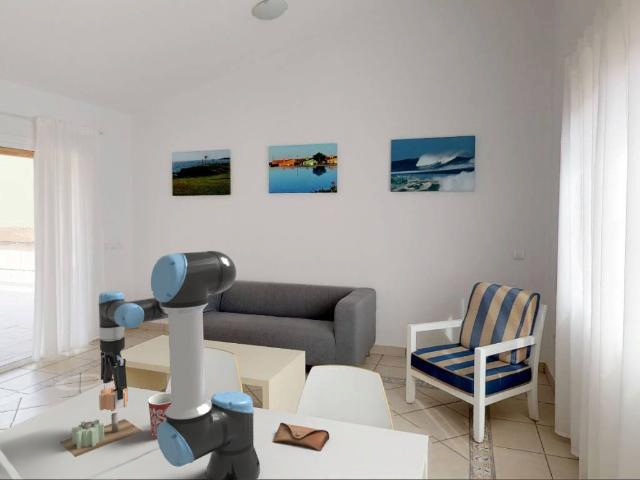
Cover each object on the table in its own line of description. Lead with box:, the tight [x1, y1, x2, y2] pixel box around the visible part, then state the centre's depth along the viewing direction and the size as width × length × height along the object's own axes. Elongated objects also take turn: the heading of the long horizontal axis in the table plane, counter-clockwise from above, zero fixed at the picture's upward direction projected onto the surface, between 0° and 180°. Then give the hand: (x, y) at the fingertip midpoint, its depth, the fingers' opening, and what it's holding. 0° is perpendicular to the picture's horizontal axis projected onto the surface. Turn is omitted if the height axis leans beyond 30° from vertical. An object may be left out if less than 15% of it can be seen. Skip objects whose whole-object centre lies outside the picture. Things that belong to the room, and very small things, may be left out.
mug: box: [147, 392, 171, 439], centre depth 147 cm, size 13×9×14 cm
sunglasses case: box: [271, 422, 330, 452], centre depth 144 cm, size 18×7×7 cm, turn 72°
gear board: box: [59, 412, 143, 458], centre depth 144 cm, size 13×21×8 cm, turn 139°
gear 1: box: [71, 419, 105, 449], centre depth 140 cm, size 9×8×5 cm
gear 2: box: [98, 385, 129, 412], centre depth 147 cm, size 9×8×5 cm
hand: (114, 404), depth 147 cm, fingers closed on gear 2, 7 cm apart
